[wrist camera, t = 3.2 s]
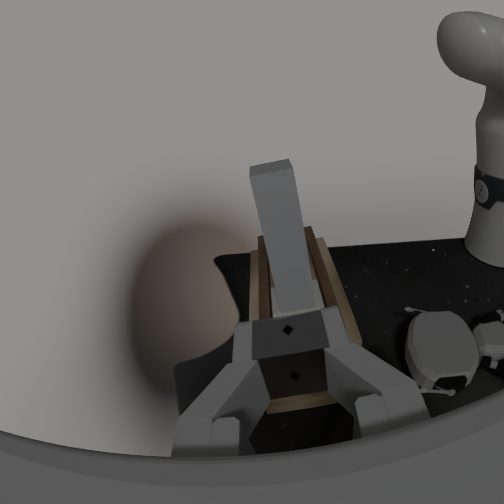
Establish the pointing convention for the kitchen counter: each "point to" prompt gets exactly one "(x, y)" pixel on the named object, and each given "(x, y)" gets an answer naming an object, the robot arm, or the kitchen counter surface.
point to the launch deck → (330, 295)
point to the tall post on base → (284, 239)
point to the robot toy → (452, 349)
